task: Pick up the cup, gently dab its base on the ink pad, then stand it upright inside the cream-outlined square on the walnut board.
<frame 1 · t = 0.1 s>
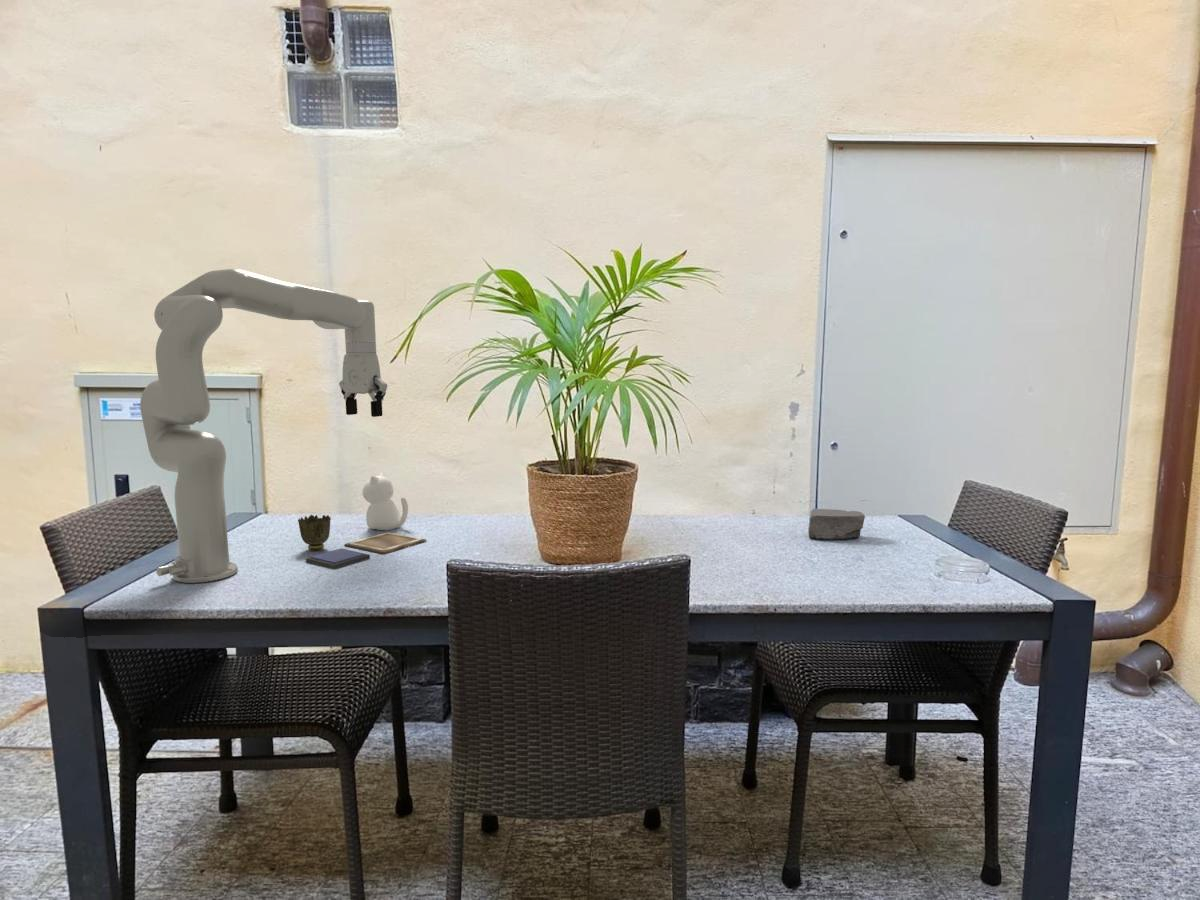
hand: (364, 415, 201), 31 cm above the table, tool pointing down, fingers open, 9 cm apart
cat figurine: (387, 529, 210), on the table
cup: (316, 550, 189), on the table
decorative stone: (832, 537, 199), on the table
ink pad: (338, 560, 180), on the table
marked board: (385, 543, 194), on the table
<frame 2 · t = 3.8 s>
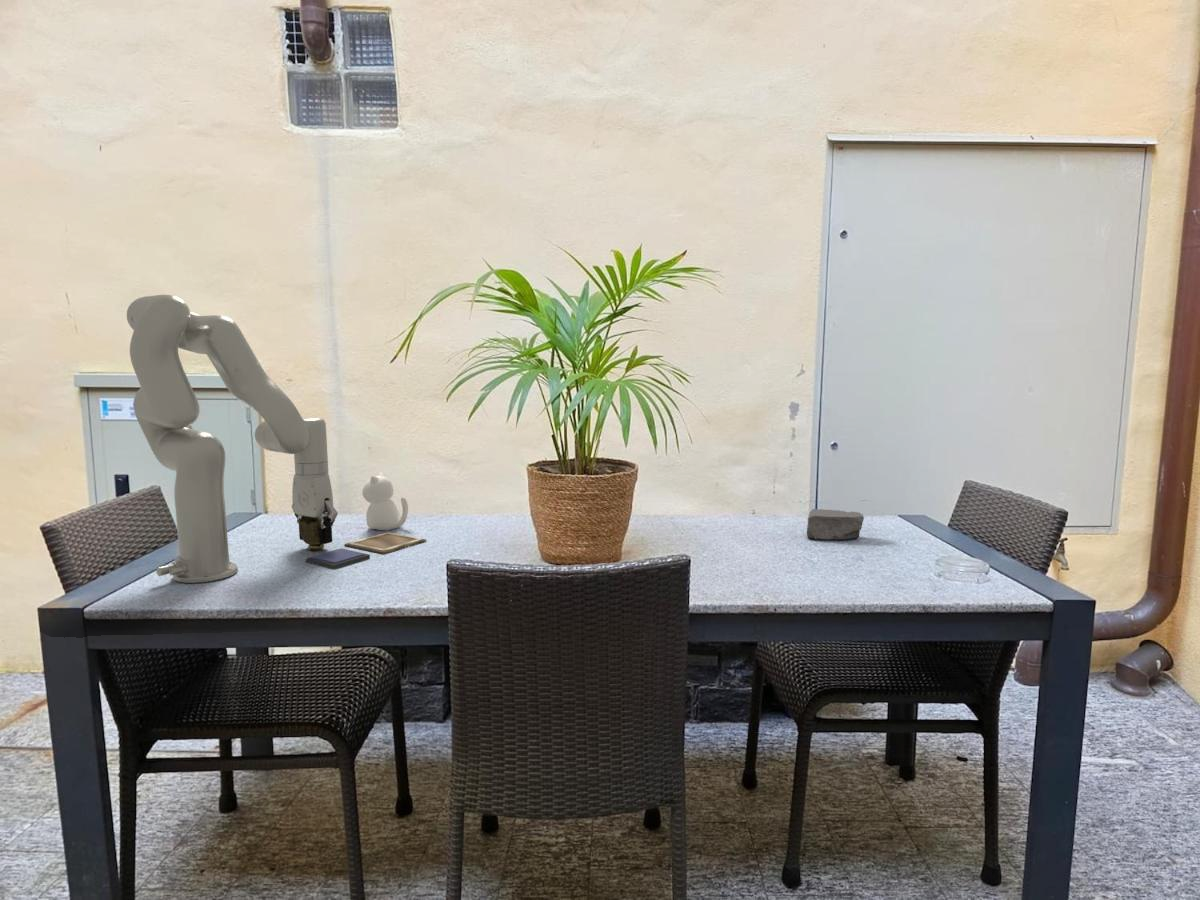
hand: (315, 540, 188), 2 cm above the table, tool pointing down, fingers closed on cup, 7 cm apart
cup: (316, 550, 189), on the table, touching gripper
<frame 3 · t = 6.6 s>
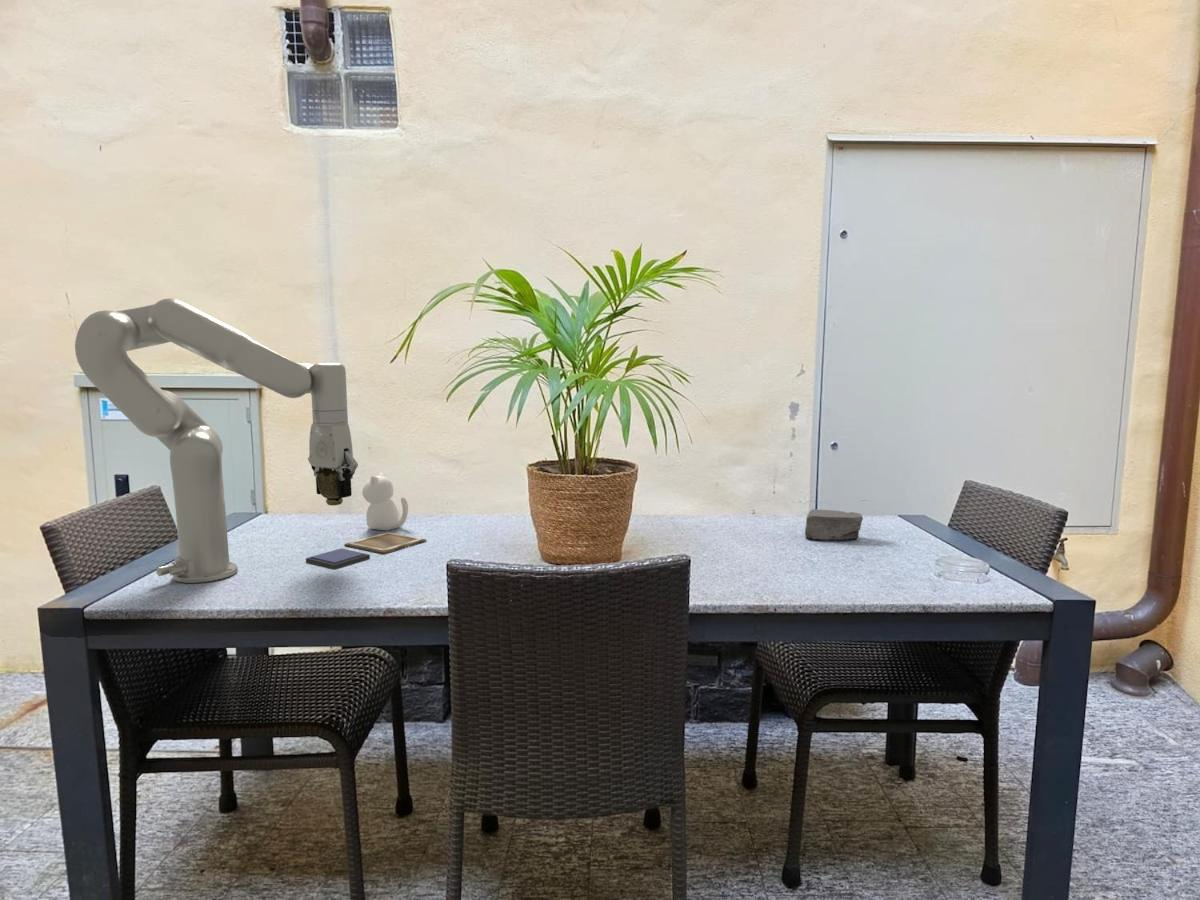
hand: (334, 494, 177), 16 cm above the table, tool pointing down, fingers closed on cup, 7 cm apart
cup: (334, 505, 178), point 13 cm above the table, touching gripper
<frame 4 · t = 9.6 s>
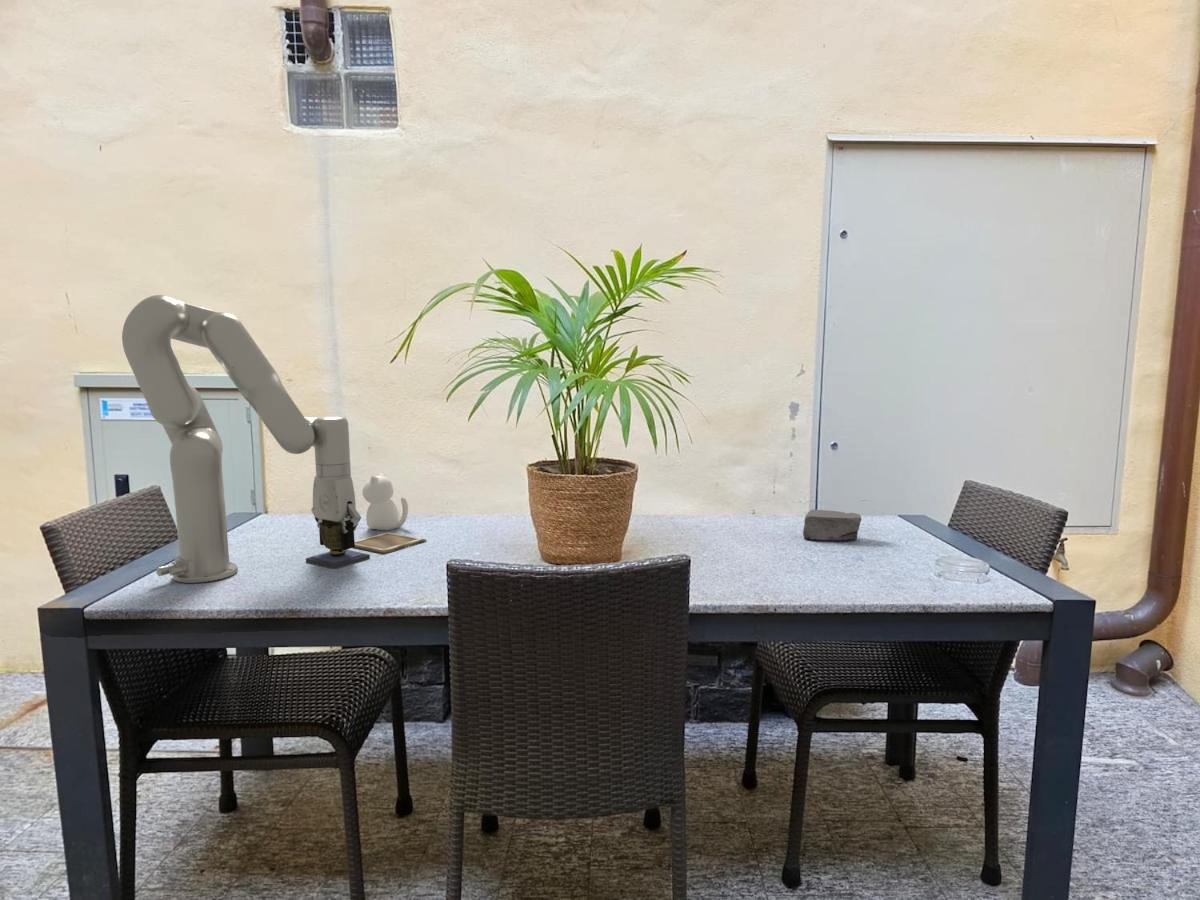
hand: (337, 545, 179), 3 cm above the table, tool pointing down, fingers closed on cup, 7 cm apart
cup: (338, 555, 180), point 1 cm above the table, touching gripper, ink pad
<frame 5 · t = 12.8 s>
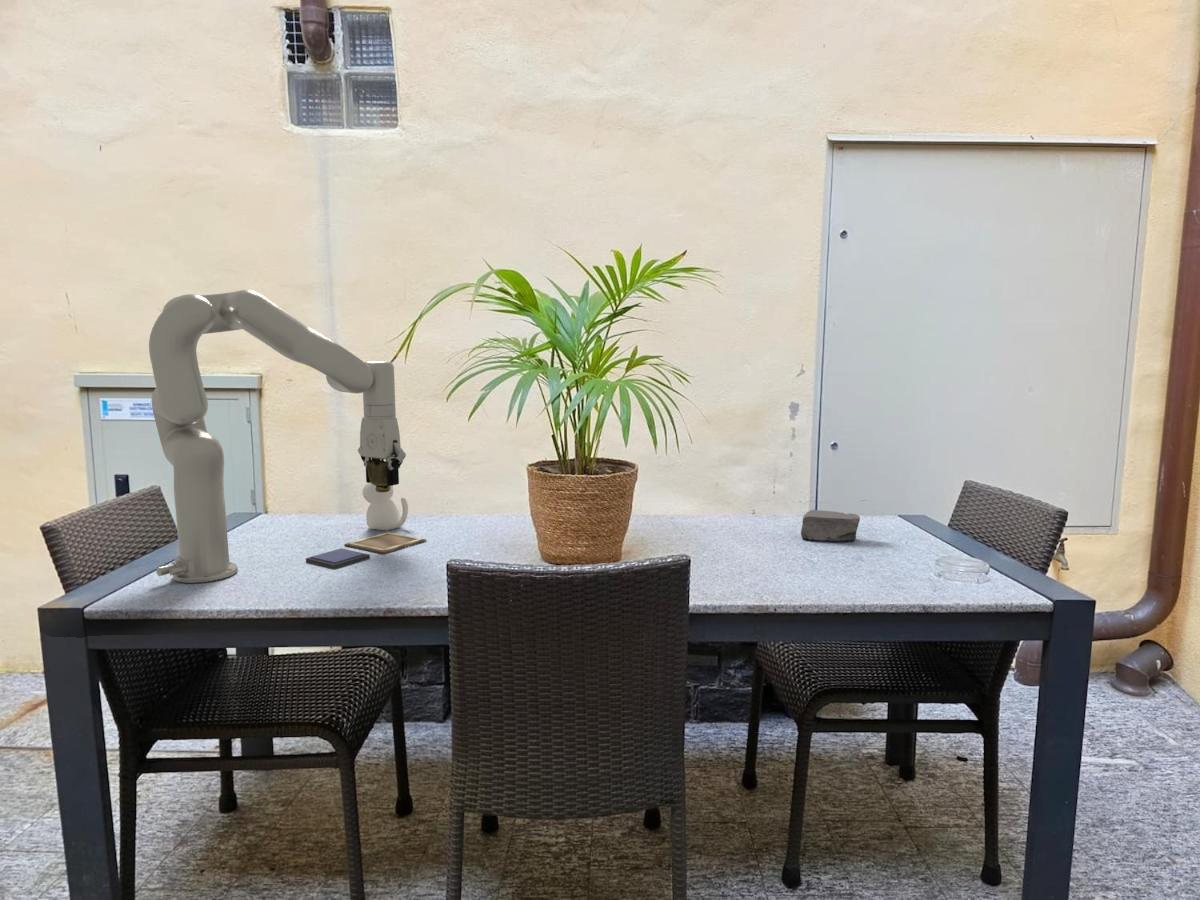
hand: (382, 482, 192), 16 cm above the table, tool pointing down, fingers closed on cup, 7 cm apart
cup: (383, 492, 192), point 13 cm above the table, touching gripper
when the fingers open (4 cm above the table, at t = 15.5 s): cup drops 1 cm, resting on marked board.
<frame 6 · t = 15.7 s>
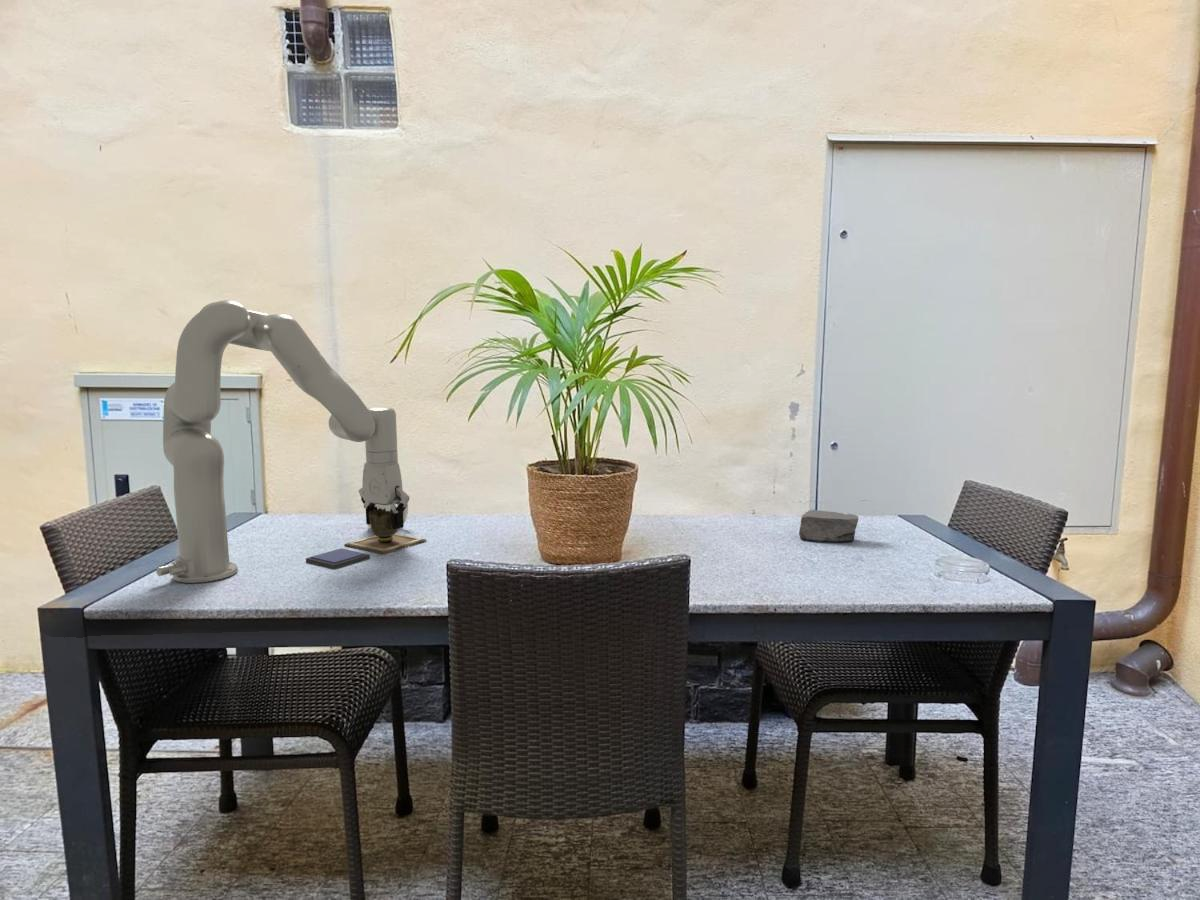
hand: (384, 525, 193), 5 cm above the table, tool pointing down, fingers open, 9 cm apart
cup: (385, 542, 194), resting on marked board
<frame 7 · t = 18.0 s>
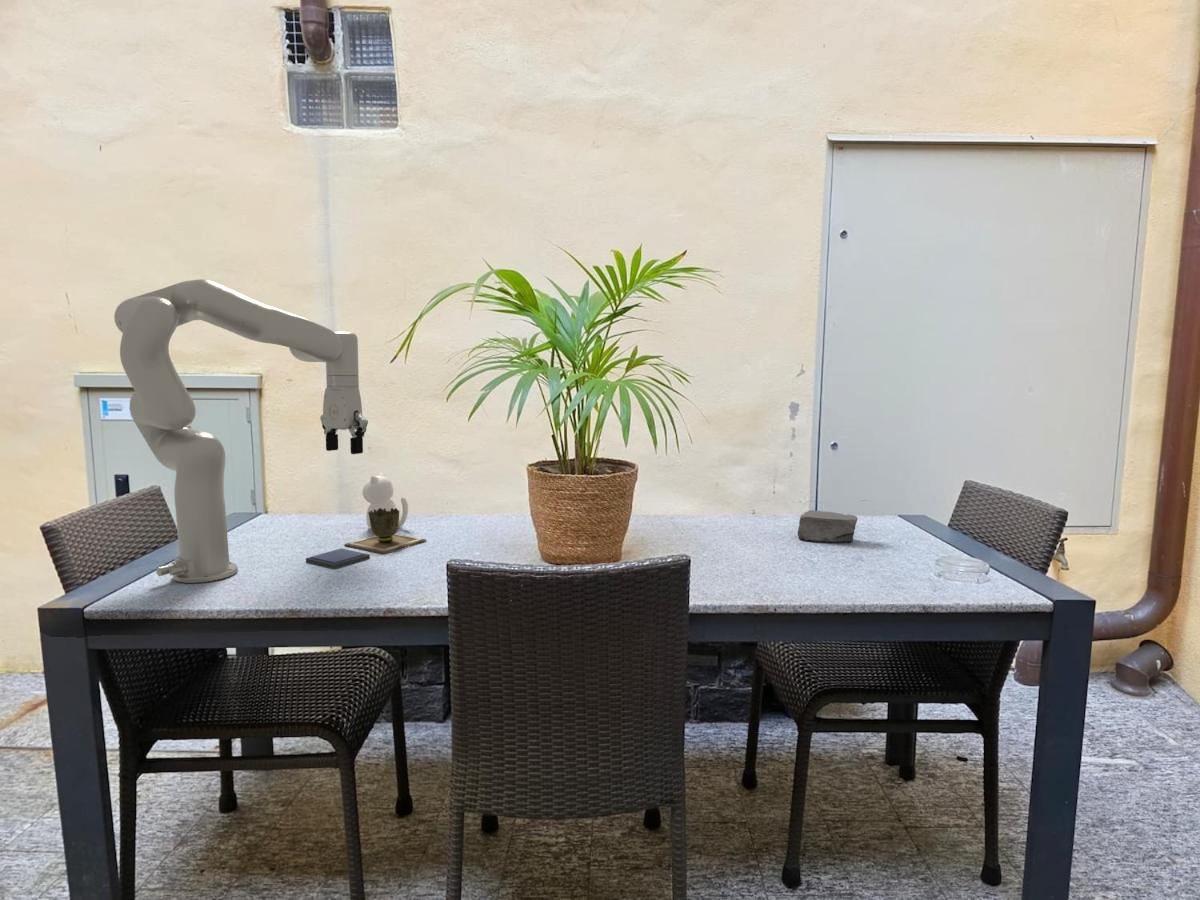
hand: (344, 451, 192), 23 cm above the table, tool pointing down, fingers open, 9 cm apart
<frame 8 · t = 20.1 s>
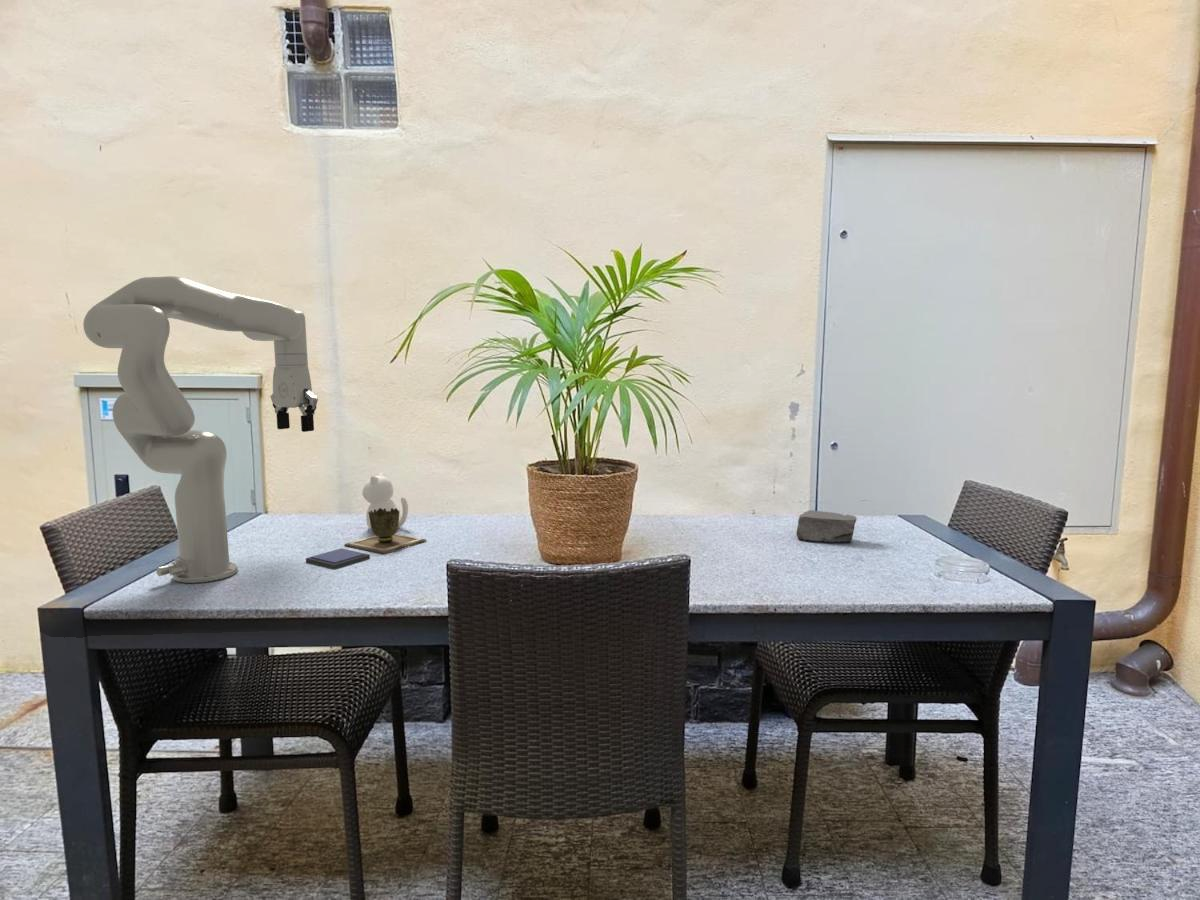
hand: (295, 430, 194), 28 cm above the table, tool pointing down, fingers open, 9 cm apart
at the end: cup inside the target area on the marked board (0.3 cm from its centre), point 0.3 cm above the marked board's base; cup tilted 0°; the gripper is holding nothing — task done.
